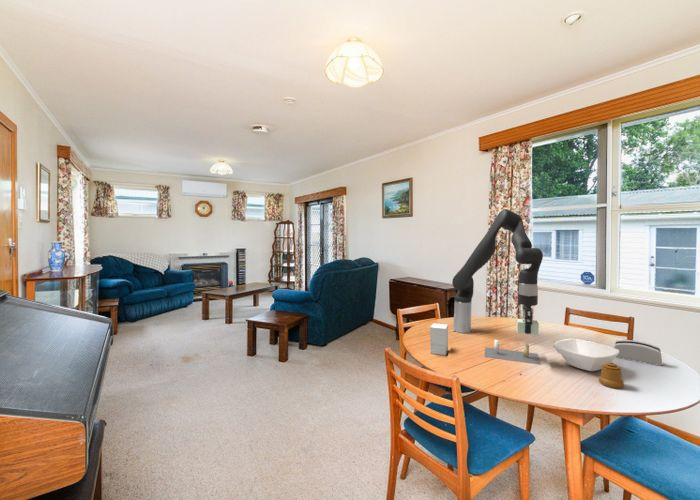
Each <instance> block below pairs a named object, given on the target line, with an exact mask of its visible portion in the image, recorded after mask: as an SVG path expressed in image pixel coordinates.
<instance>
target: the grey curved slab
mask: <svg viewBox="0 0 700 500" xmlns="http://www.w3.org/2000/svg"><path fill="white" fill-rule="evenodd" d="M613 348H615V349H618V350H619V354H618V355H617V356H616V357H619V358H618V359H622V358H624V359H623V360H627V359H630V360H629V361H632V360H636V361H635V362H638V361H641V362H640V363H643V362H646V363H645V364H648V363H651V364H650V365H653V364H657V365H656V366H659V365H662V366H663V359H662V358H663V357H662V353H661V352H662V350H661V349H660V347H658V346H656V345H653V344H652V343H647V342H645V341H639V340H629V339H622V340H621V339H619V340H616V341H615V343H614V346H613ZM616 357H615V358H616Z"/></svg>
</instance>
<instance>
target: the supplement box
mask: <svg viewBox="0 0 700 500" xmlns="http://www.w3.org/2000/svg"><path fill="white" fill-rule="evenodd" d="M429 329H430V330H429V334H430V335H429V336H430V347H429V348H430V349H429V350H430V352H429V353H430V354H433V355H434V354H435V355H440V356H447V353H448V352H447V351H449V324H441V323H432V324H431V326H430V327H429Z"/></svg>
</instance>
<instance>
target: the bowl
mask: <svg viewBox="0 0 700 500" xmlns="http://www.w3.org/2000/svg"><path fill="white" fill-rule="evenodd" d="M552 347H553V349H555V351H556V352H557V353H558V354H559V355H561V356H562V358H563V360H564V361H565V362H566V364H567V365H569V366H572V367H575V368H578V369H581V370H585V371H588V372H595V371H600V370H602V365H604V364H607V363H611V362H612V361H613V360H615V358H616V356H617V355H618V354H619V350H618V349H615V348H614V346H613V347H611V346H608V345H606V344H602V343H598V342H594V341H589V340H586V339H581V338H566V339H560V340H556V341H555V342H554V343H553V344H552Z"/></svg>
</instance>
